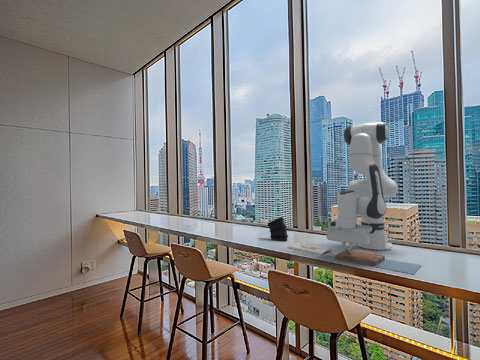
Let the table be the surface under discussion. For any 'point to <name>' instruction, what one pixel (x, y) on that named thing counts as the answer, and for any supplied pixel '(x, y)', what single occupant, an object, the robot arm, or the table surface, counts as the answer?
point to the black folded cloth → (278, 229)
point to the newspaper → (308, 248)
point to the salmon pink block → (363, 254)
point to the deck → (360, 259)
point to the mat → (399, 266)
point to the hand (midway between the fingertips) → (347, 251)
